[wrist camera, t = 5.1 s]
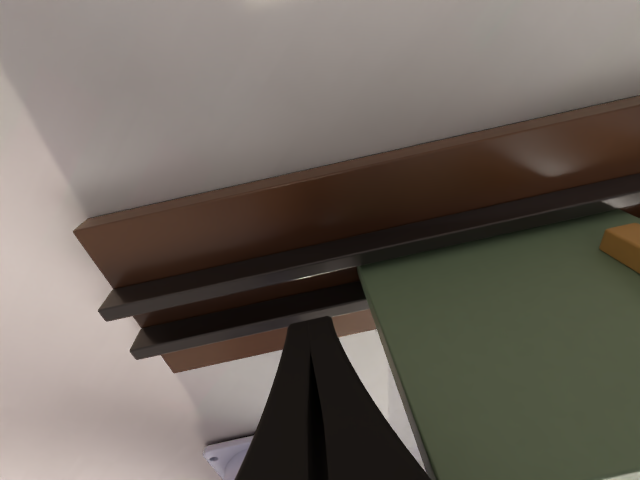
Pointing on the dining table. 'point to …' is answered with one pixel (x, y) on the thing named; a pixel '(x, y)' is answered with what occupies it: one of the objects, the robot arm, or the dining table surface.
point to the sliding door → (519, 350)
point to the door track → (346, 230)
